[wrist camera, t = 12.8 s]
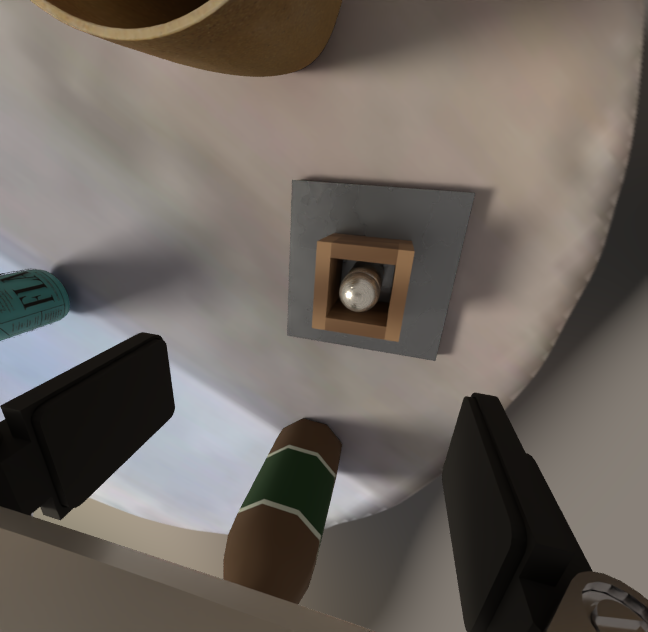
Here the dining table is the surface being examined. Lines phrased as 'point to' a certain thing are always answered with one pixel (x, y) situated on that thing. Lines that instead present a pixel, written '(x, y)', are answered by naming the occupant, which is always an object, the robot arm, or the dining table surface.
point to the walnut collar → (328, 271)
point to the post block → (375, 278)
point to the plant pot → (210, 30)
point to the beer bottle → (285, 513)
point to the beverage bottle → (30, 301)
